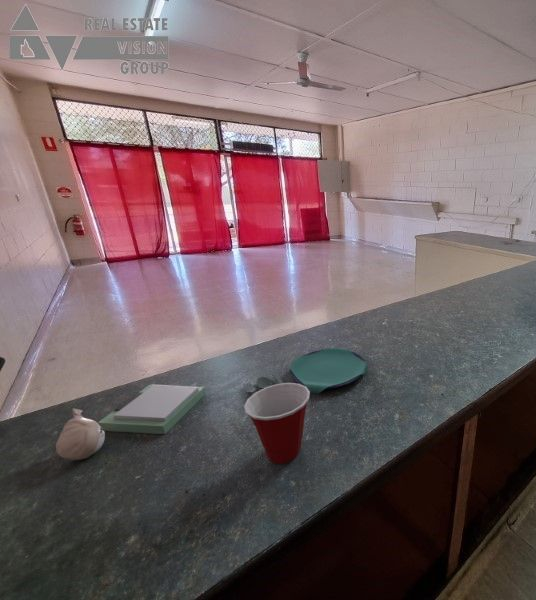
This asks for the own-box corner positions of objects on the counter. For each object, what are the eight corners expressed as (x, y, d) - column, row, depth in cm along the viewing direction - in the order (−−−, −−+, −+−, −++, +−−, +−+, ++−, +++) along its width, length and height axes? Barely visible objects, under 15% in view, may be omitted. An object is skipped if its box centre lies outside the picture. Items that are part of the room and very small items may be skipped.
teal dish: (380, 376, 84) (381, 368, 83) (264, 424, 65) (263, 415, 65) (342, 348, 98) (342, 341, 97) (238, 380, 80) (237, 373, 79)
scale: (100, 430, 62) (96, 419, 61) (151, 391, 74) (148, 381, 74) (165, 434, 62) (162, 422, 61) (205, 394, 74) (203, 384, 73)
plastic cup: (296, 422, 66) (292, 373, 62) (324, 452, 59) (321, 398, 55) (242, 449, 59) (234, 395, 55) (267, 487, 52) (259, 427, 48)
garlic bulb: (118, 438, 60) (106, 403, 58) (93, 465, 54) (79, 428, 52) (78, 441, 59) (65, 406, 57) (48, 470, 53) (32, 431, 51)
